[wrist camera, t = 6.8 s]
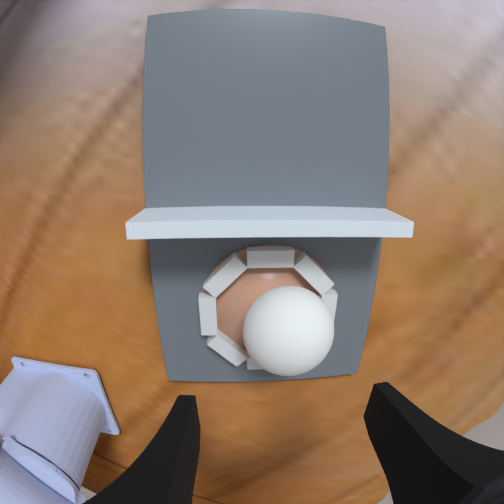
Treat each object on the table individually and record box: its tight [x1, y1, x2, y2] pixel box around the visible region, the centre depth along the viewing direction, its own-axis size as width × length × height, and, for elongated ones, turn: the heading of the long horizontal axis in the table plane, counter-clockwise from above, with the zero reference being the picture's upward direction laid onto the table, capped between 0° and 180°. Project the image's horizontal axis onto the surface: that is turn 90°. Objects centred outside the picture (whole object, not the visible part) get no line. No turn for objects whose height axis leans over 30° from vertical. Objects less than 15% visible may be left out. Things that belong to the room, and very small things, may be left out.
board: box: [125, 9, 414, 382], centre depth 16 cm, size 14×24×4 cm, turn 0°
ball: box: [243, 286, 334, 376], centre depth 17 cm, size 5×5×5 cm
